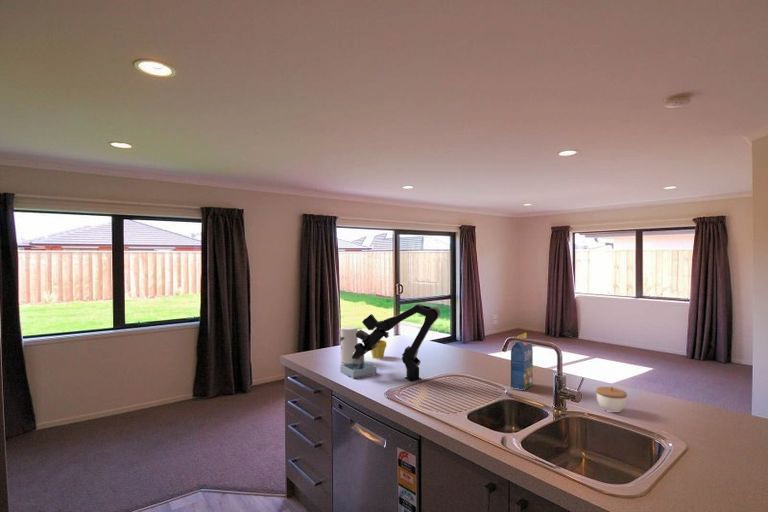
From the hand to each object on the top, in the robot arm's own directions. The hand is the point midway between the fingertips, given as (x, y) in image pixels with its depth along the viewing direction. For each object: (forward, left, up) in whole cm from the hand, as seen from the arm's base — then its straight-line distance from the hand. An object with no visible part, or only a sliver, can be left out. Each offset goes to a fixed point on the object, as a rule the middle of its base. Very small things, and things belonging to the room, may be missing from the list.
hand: (355, 356), depth 208 cm
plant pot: (+20, -27, -9) cm, 35 cm away
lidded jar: (-101, -61, -9) cm, 118 cm away
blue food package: (-63, -55, -9) cm, 84 cm away
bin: (-1, -1, -9) cm, 9 cm away
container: (+22, -8, -9) cm, 25 cm away
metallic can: (-1, -1, -8) cm, 8 cm away
